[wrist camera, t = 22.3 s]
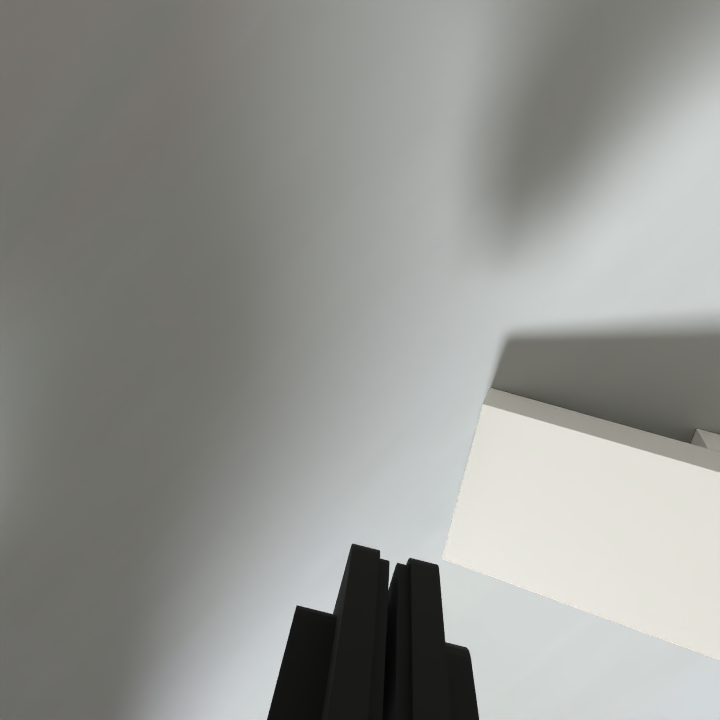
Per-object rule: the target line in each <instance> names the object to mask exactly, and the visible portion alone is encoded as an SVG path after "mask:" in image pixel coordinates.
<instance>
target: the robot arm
mask: <svg viewBox="0 0 720 720" xmlns="http://www.w3.org/2000/svg"><path fill="white" fill-rule="evenodd" d="M388 583H389V561H388V560H384V559H380V550H376V549H372V548H368V547H364V546H360V545H356V544H352V546H351V549H350V553H349V556H348V560H347V564H346V567H345V571H344V575H343V579H342V582H341V586H340V590H339V594H338V597H337V601H336V605H335V609H334V612H333V614H329V613H325V612H321V611H317V610H313V609H309V608H305V607H301V606H296V610H295V614H294V618H293V622H292V625H291V629H290V633H289V637H288V641H287V645H286V649H285V652H284V656H283V660H282V664H281V668H280V672H279V676H278V680H277V683H276V687H275V691H274V695H273V699H272V703H271V707H270V710H269V714H268V718H267V720H479V715H478V708H477V700H476V693H475V686H474V678H473V671H472V663H471V657H470V653H469V650H468V649H467V648H466V647H462V646H458V645H454V644H450V643H446V642H445V635H444V623H443V611H442V599H441V587H440V575H439V567H438V565H436V564H432V563H428V562H424V561H420V560H416V559H412V558H409V560H408V562H407V564H406V565H404V564H400V563H397V565H396V567H395V570H394V573H393V577H392V580H391V583H390V587H389V590H388Z"/></svg>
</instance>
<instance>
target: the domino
mask: <svg viewBox="0 0 720 720" xmlns="http://www.w3.org/2000/svg"><path fill="white" fill-rule="evenodd" d="M442 559H444V560H447V561H449V562H452V563H455V564H458V565H460V566H463V567H466V568H469V569H471V570H474V571H477V572H479V573H482V574H485V575H488V576H490V577H493V578H496V579H499V580H501V581H504V582H507V583H509V584H512V585H515V586H518V587H520V588H523V589H526V590H529V591H531V592H534V593H537V594H539V595H542V596H545V597H548V598H550V599H553V600H556V601H559V602H561V603H564V604H567V605H570V606H572V607H575V608H578V609H580V610H583V611H586V612H589V613H591V614H594V615H597V616H600V617H602V618H605V619H608V620H610V621H613V622H616V623H619V624H621V625H624V626H627V627H630V628H632V629H635V630H638V631H640V632H643V633H646V634H649V635H651V636H654V637H657V638H660V639H662V640H665V641H668V642H670V643H673V644H676V645H679V646H681V647H684V648H687V649H690V650H692V651H695V652H698V653H700V654H703V655H706V656H709V657H711V658H714V659H717V660H720V452H717V451H714V450H710V449H707V448H703V447H700V446H696V445H692V444H689V443H685V442H682V441H678V440H675V439H671V438H668V437H664V436H660V435H657V434H653V433H650V432H646V431H643V430H639V429H635V428H632V427H628V426H625V425H621V424H618V423H614V422H611V421H607V420H603V419H600V418H596V417H593V416H589V415H586V414H582V413H578V412H575V411H571V410H568V409H564V408H561V407H557V406H554V405H550V404H546V403H543V402H539V401H536V400H532V399H529V398H525V397H521V396H518V395H514V394H511V393H507V392H504V391H500V390H497V389H493V388H490V390H489V392H488V394H487V396H486V398H485V400H484V403H483V405H482V409H481V413H480V416H479V420H478V424H477V428H476V432H475V435H474V439H473V443H472V447H471V450H470V454H469V458H468V462H467V465H466V469H465V473H464V477H463V481H462V484H461V488H460V492H459V496H458V499H457V503H456V507H455V511H454V515H453V518H452V522H451V526H450V530H449V533H448V537H447V541H446V545H445V548H444V552H443V556H442Z"/></svg>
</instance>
